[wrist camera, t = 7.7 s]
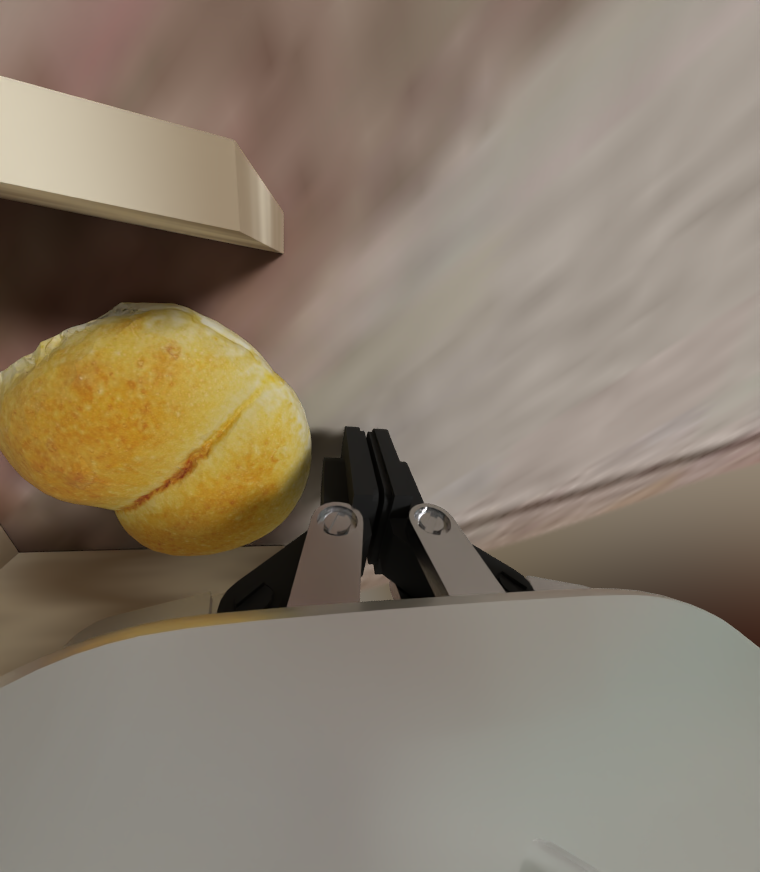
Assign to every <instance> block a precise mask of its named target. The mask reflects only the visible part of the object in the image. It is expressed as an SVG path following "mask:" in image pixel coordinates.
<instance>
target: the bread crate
mask: <svg viewBox="0 0 760 872" xmlns="http://www.w3.org/2000/svg"><path fill="white" fill-rule="evenodd" d="M0 198H3V199H8V200H13V201H18V202H23V203H28V204H33V205H38V206H43V207H48V208H53V209H58V210H64V211H69V212H74V213H79V214H84V215H89V216H94V217H99V218H104V219H109V220H114V221H119V222H124V223H130V224H135V225H140V226H145V227H150V228H155V229H160V230H165V231H170V232H175V233H180V234H185V235H190V236H195V237H201V238H206V239H211V240H216V241H221V242H226V243H231V244H236V245H241V246H246V247H251V248H256V249H261V250H267V251H272V252H277V253H282V254H284V213H283V211H282V210H281V208H280V207H279V205H278V204H277V202H276V201H275V199H274V198H273V196H272V195H271V193H270V192H269V190H268V189H267V187H266V186H265V185H264V183H263V182H262V180H261V179H260V177H259V176H258V174H257V173H256V171H255V170H254V168H253V167H252V165H251V164H250V162H249V161H248V159H247V158H246V156H245V155H244V154H243V152H242V151H241V149H240V148H239V146H238V145H237V143H236V142H235V140H232V139H229V138H225V137H221V136H218V135H214V134H210V133H207V132H203V131H200V130H196V129H192V128H189V127H185V126H181V125H178V124H174V123H170V122H167V121H163V120H159V119H156V118H152V117H148V116H145V115H141V114H137V113H134V112H130V111H127V110H123V109H119V108H116V107H112V106H108V105H105V104H101V103H97V102H94V101H90V100H86V99H83V98H79V97H75V96H72V95H68V94H64V93H61V92H57V91H54V90H50V89H46V88H43V87H39V86H35V85H32V84H28V83H24V82H21V81H17V80H13V79H10V78H6V77H2V76H0ZM283 548H284V546H253V547H238V548H235V549H233V550H229V551H225V552H220V553H216V554H211V555H200V556H173V555H169V554H164V553H160V552H156V551H153V550H151V549H141V550H103V551H66V552H28V553H19V552H18V551H17V549H16V548H15V546H14V545H13V543H12V542H11V540H10V539H9V537H8V536H7V534H6V533H5V531H4V530H3V528H2V527H1V525H0V677H1V676H3V675H5V674H6V673H8V672H10V671H12V670H14V669H16V668H18V667H21V666H23V665H25V664H27V663H29V662H31V661H34V660H36V659H38V658H40V657H42V656H45V655H47V654H50V653H52V652H55V651H57V650H60V649H62V648H63V646H64V645H65V644H67V643H68V642H69V641H70V640H71V639H72V638H73V637H74V636H75V635H76V634H77V633H78V632H80V631H82V630H83V629H85V628H86V627H88V626H89V625H91V624H93V623H94V622H97V621H99V620H102V619H105V618H107V617H110V616H114V615H118V614H122V613H126V612H130V611H134V610H138V609H142V608H146V607H150V606H154V605H158V604H162V603H166V602H170V601H174V600H178V599H182V598H186V597H190V596H194V595H198V594H202V593H207V592H211V595H212V596H213V595H217V594H221V593H225V592H226V591H227V590H228V589H229V588H230V587H231V586H232V585H234V584H235V583H236V582H237V581H238V580H240V579H241V578H243V577H244V576H245V575H247V574H248V573H250V572H251V571H252V570H254V569H255V568H256V567H258V566H259V565H261V564H262V563H263V562H265V561H266V560H268V559H269V558H270V557H272V556H273V555H274V554H276V553H277V552H279V551H280V550H281V549H283Z"/></svg>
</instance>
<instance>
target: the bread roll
mask: <svg viewBox="0 0 760 872" xmlns="http://www.w3.org/2000/svg"><path fill="white" fill-rule="evenodd" d="M109 311H110V312H107V313H106V314H104V315H103V316H101V317H99V318H98V319H96V320H93V321H89V322H88V323H85V324H82V325H78V326H74V327H71V328H69V329H66V330H64V331H63V332H61V333H60V334H58V335H56V336H54V337H52V338H50V339H47V340H45V341H42V342H40V344H39V346H38V347H37V349H36V350H35V351H34V352H33V353H32V354H29V355H27V356H24V357H22V358H21V359H19V360H18V361H16V362H15V363H13V364H12V365H10V366H9V367H8V368H7V369H6V370H4V371H1V372H0V450H1V452H2V453H3V455H4V456H5V457H6V459H7V460H8V462H9V463H10V464H11V465H12V466H13V468H14V469H15V470H16V471H17V472H18V473H19V474H20V475H21V477H23V478H24V479H25V480H26V481H28V482H29V483H30V484H32V485H33V486H35V487H36V488H38V489H39V490H40V491H42V492H43V493H45V494H47V495H49V496H52V497H54V498H56V499H59V500H61V501H65V502H69V503H73V504H80V505H87V506H94V507H100V508H105V509H110V510H114V511H115V514H116V516H117V518H118V520H119V522H120V523H121V525H122V526H123V528H124V529H125V530H126V532H127V533H128V534H129V535H131V536H132V537H133V538H134V539H135V540H137V541H138V542H139V543H140V544H142V545H143V546H145V547H147V548H149V549H151V550H153V551H156V552H160V553H164V554H169V555H173V556H200V555H211V554H216V553H220V552H225V551H229V550H233V549H235V548H238V547H241V546H243V545H246V544H249V543H251V542H253V541H255V540H258V539H259V538H261V537H263V536H265V535H266V534H268V533H270V532H271V531H273V530H274V529H275V528H276V527H277V526H279V525H280V524H281V523H282V522H283V521H284V520H285V519H286V518H287V517H288V515H289V514H290V513H291V511H292V510H293V509H294V507H295V506H296V504H297V502H298V501H299V499H300V497H301V495H302V493H303V490H304V488H305V485H306V482H307V479H308V476H309V472H310V466H311V455H312V453H311V435H310V431H309V430H310V428H309V426H308V423H307V419H306V415H305V411H304V409H303V407H302V405H301V403H300V401H299V399H298V398H297V396H296V394H295V392H294V391H293V389H292V388H291V387H290V386H289V385H288V384H287V383H286V382H285V381H284V380H283V379H282V378H281V377H280V376H279V375H278V374H276V373H275V372H274V371H273V370H272V369H271V367H270V366H269V365H268V363H267V362H266V361H265V360H264V358H263V357H262V356H261V355H260V353H259V352H258V351H257V350H256V349H255V348H254V347H253V346H251V345H250V344H249V343H248V342H247V341H245V340H244V339H243V338H241V337H240V336H238V335H237V334H236V333H234V332H233V331H231V330H229V329H228V328H226V327H225V326H223V325H222V324H220V323H218V322H217V321H215V320H213V319H210V318H208V317H206V316H203V315H201V314H199V313H197V312H195V311H193V310H191V309H190V308H188V307H184V306H181V305H177V304H174V303H130V302H122V303H119V304H118V305H117V306H115V307H114V308H113V309H112V310H109Z"/></svg>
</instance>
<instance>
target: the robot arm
mask: <svg viewBox="0 0 760 872" xmlns="http://www.w3.org/2000/svg"><path fill="white" fill-rule="evenodd" d="M366 558H367V559H368V564H373V565H374V571H375V574H383V575H384V576H385V577H387V578H388V579H389V580H390V581H389V586H390V591H391V594H392V597H393V599H394V600H384V601H369V602H360V582H361V576H362V575H363V571H364V567H365V562H366ZM0 872H760V648H759V647H757V646H756V645H755V644H754V643H752V642H751V641H750V640H749V639H747V638H746V637H745V636H744V635H742V634H741V633H740V632H739V631H737V630H736V629H735V628H733V627H732V626H731V625H729V624H728V623H726V622H725V621H723V620H722V619H720V618H718V617H717V616H715V615H713V614H711V613H709V612H707V611H704V610H702V609H700V608H698V607H695V606H693V605H690V604H688V603H685V602H681V601H678V600H675V599H672V598H669V597H665V596H662V595H657V594H652V593H647V592H642V591H635V590H625V589H603V588H593V589H592V588H589V587H586V586H581V585H576V584H570V583H565V582H560V581H554V580H549V579H543V578H538V577H533V576H527V577H526V579H525V578H524V576H523V575H521V574H520V573H518V572H517V571H516V570H514V569H512V568H511V567H509V566H507V565H506V564H504V563H502V562H501V561H499V560H497V559H496V558H494V557H492V556H491V555H489V554H487V553H486V552H484V551H482V550H481V549H479V548H477V547H476V546H474V545H472V544H471V543H470V541H469V540H468V538H467V537H466V535H465V534H464V533H463V531H462V530H461V528H460V527H459V526H458V524H457V523H456V521H455V520H454V518H453V517H452V516H451V515H450V514H449V513H448V512H447V511H446V510H444V509H443V508H441V507H439V506H436V505H433V504H425V503H424V502H423V500H422V497H421V495H420V493H419V490H418V488H417V486H416V483H415V481H414V479H413V476H412V474H411V472H410V469H409V467H408V465H407V463H406V462H400V460H399V458H398V455H397V453H396V450H395V448H394V445H393V443H392V440H391V438H390V435H389V433H388V430H386V429H373V430H372V432H368V433H367V437H366V436H365V432H364V431H360V428H359V427H347V426H345V429H344V437H343V445H342V452H341V458H324V461H323V471H322V483H321V506H320V507H318V508H317V509H316V510H315V511H314V513H313V515H312V517H311V521H310V524H309V528H308V531H306V532H305V533H304V534H302V535H301V536H299V537H298V538H297V539H295V540H294V541H292V542H291V543H290V544H288V545H287V546H286V547H284V548H283V549H281V550H280V551H279V552H277V553H276V554H274V555H273V556H272V557H270V558H269V559H268V560H266V561H265V562H263V563H262V564H261V565H259V566H258V567H256V568H255V569H254V570H252V571H251V572H250V573H248V574H247V575H245V576H244V577H243V578H241V579H240V580H238V581H237V582H236V583H235V584H234V585H232V586H231V587H230V588H229V589H228V590H227V591H226V592H225V593H221V594H217V595H213V596H212V595H211V592H207V593H202V594H198V595H194V596H190V597H186V598H182V599H178V600H174V601H170V602H166V603H162V604H158V605H154V606H150V607H146V608H142V609H138V610H134V611H130V612H126V613H122V614H118V615H114V616H110V617H107V618H105V619H102V620H99V621H97V622H94V623H93V624H91V625H89V626H88V627H86V628H85V629H83V630H82V631H80V632H78V633H77V634H76V635H75V636H74V637H73V638H72V639H71V640H70V641H69V642H68V643H67V644H65V645H64V646H63V648H62V649H60V650H57V651H55V652H52V653H50V654H47V655H45V656H42V657H40V658H38V659H36V660H34V661H31V662H29V663H27V664H25V665H23V666H21V667H18V668H16V669H14V670H12V671H10V672H8V673H6V674H5V675H3V676H1V677H0Z"/></svg>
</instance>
